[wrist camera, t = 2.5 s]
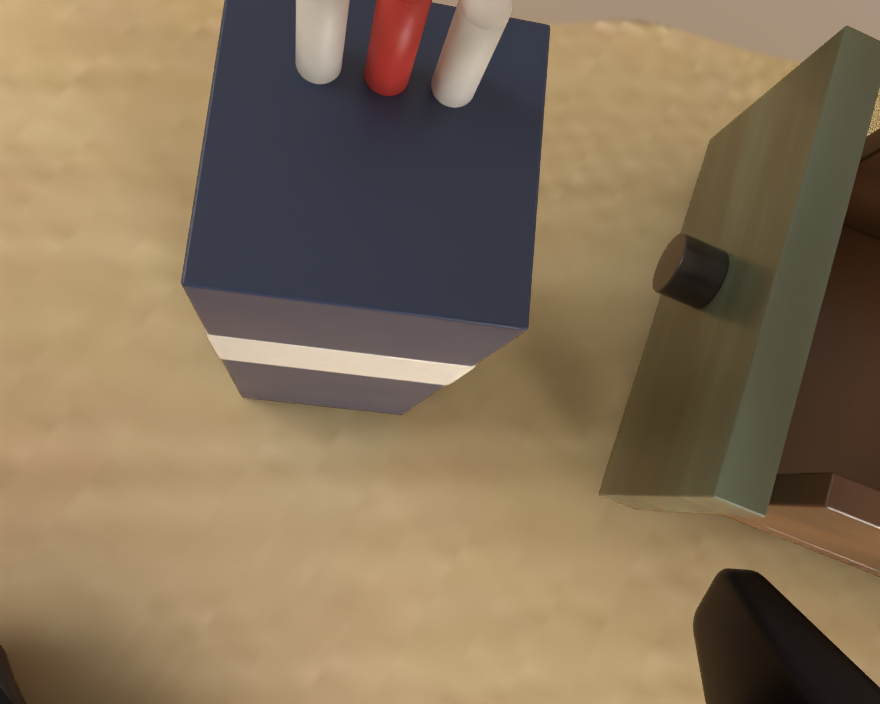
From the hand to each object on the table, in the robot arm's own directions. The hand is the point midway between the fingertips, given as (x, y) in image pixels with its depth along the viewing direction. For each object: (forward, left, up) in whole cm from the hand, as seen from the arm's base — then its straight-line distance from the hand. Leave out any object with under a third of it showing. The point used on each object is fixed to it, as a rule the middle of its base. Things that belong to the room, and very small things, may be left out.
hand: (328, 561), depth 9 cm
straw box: (+3, -4, -13) cm, 14 cm away
